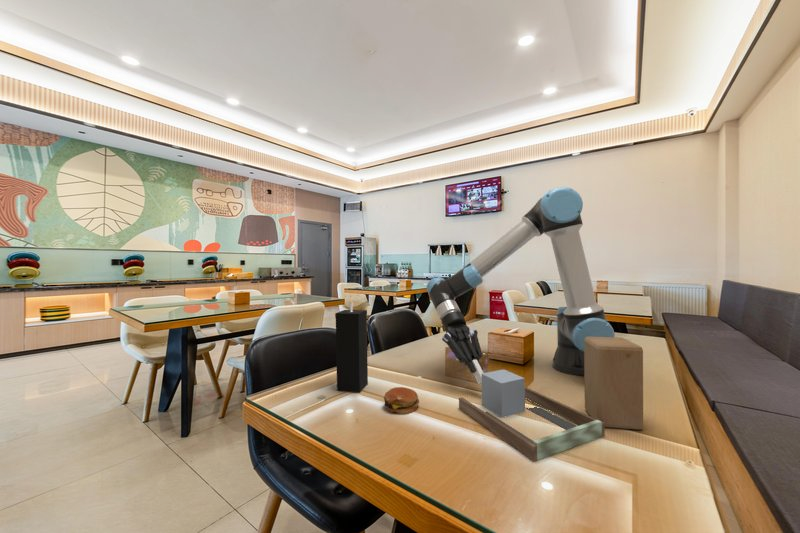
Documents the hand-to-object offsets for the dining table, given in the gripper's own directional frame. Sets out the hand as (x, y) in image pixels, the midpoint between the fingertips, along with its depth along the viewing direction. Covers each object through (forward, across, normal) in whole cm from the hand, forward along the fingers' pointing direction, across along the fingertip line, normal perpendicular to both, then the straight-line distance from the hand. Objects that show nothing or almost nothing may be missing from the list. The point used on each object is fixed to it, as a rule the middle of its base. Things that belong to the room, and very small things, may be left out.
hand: (482, 381), depth 95 cm
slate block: (+9, -1, +2) cm, 9 cm away
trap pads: (+15, -1, +8) cm, 16 cm away
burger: (0, +24, -7) cm, 25 cm away
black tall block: (-14, +32, -21) cm, 41 cm away
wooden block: (+21, -21, +14) cm, 33 cm away
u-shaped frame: (+15, -1, +8) cm, 16 cm away
